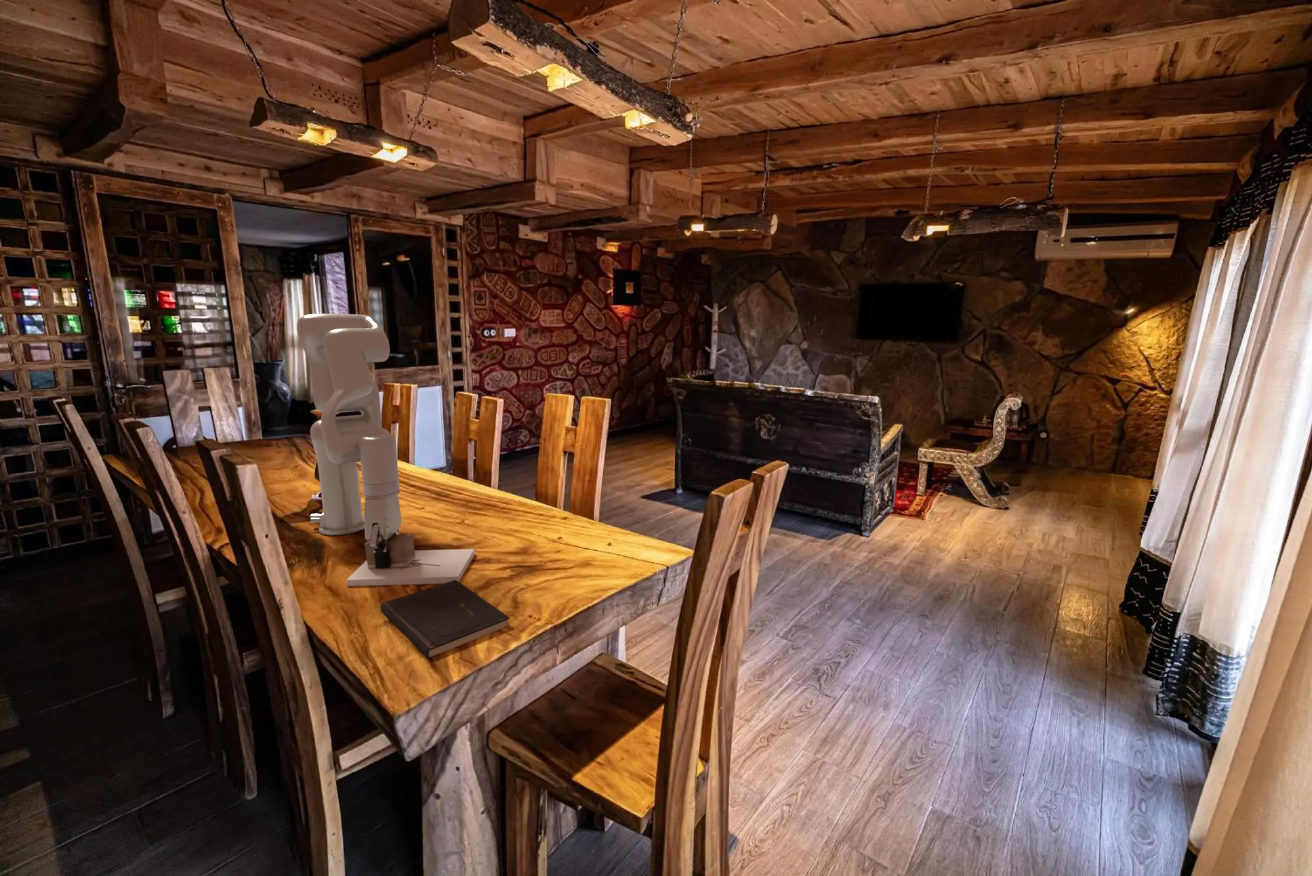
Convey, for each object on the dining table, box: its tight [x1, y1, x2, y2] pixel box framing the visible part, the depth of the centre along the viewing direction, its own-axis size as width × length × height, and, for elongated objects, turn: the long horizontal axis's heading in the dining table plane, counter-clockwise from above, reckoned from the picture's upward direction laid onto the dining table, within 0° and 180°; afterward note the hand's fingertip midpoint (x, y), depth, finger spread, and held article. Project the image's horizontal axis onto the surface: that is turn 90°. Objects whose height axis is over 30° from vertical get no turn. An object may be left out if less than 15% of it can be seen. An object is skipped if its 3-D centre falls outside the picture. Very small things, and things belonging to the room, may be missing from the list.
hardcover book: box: [380, 580, 511, 659], centre depth 112 cm, size 16×23×2 cm
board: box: [346, 548, 476, 587], centre depth 135 cm, size 24×16×2 cm, turn 95°
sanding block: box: [364, 533, 416, 568], centre depth 133 cm, size 9×5×6 cm, turn 92°
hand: (388, 561), depth 134 cm, fingers closed on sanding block, 5 cm apart
